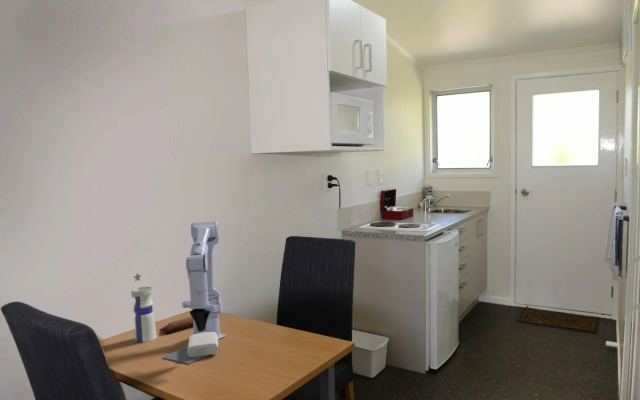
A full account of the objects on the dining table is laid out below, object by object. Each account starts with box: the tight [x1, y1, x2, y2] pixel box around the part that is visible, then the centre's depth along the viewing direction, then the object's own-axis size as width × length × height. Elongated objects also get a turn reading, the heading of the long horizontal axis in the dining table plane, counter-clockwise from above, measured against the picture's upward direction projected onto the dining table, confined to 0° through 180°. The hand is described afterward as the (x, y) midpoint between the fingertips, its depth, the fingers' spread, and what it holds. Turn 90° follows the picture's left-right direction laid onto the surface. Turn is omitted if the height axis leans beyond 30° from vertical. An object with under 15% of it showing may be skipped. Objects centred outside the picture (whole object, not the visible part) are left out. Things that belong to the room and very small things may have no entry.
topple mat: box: [162, 345, 208, 365], centre depth 162 cm, size 12×12×1 cm
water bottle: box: [130, 272, 158, 343], centre depth 180 cm, size 8×8×25 cm
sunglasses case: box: [159, 315, 194, 335], centre depth 192 cm, size 18×7×7 cm, turn 132°
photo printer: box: [187, 332, 219, 357], centre depth 164 cm, size 10×4×12 cm
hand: (201, 330), depth 158 cm, fingers closed
